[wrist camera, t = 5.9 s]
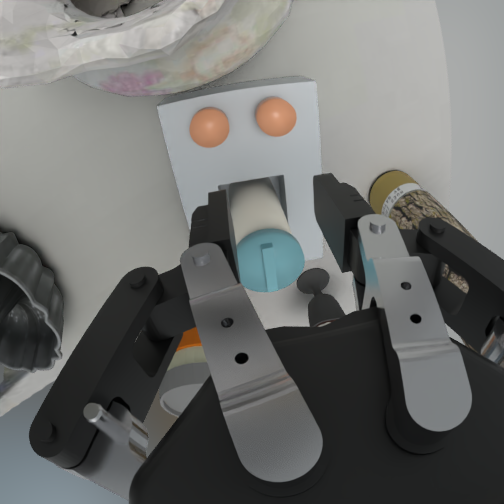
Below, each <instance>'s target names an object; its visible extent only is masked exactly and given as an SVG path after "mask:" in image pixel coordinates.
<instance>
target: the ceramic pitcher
mask: <svg viewBox="0 0 504 504" xmlns="http://www.w3.org/2000/svg"><path fill="white" fill-rule="evenodd" d="M166 1H167V2H166ZM129 2H130V0H0V88H11V87H19V86H28V85H38V84H49V83H52V82H55V81H57V80H60V79H63V78H66V77H69V76H72V77H74V78H76V79H77V80H79V81H81V82H83V83H84V84H86V85H88V86H90V87H93V88H96V89H100V90H104V91H107V92H111V93H115V94H119V95H123V96H128V97H129V96H148V95H163V94H173V93H177V92H181V91H185V90H190V89H193V88H195V87H198V86H201V85H203V84H206V83H209V82H212V81H214V80H216V79H218V78H220V77H222V76H224V75H226V74H228V73H230V72H232V71H234V70H235V69H237V68H238V67H240V66H241V65H242V64H244V63H245V62H247V61H248V60H249V59H251V58H252V57H253V56H254V55H255V54H256V53H257V52H258V51H260V50H261V49H262V48H263V47H264V46H265V45H266V44H267V42H268V41H269V40H270V39H271V38H272V36H273V35H274V34H275V33H276V31H277V30H278V29H279V27H280V26H281V25H282V24H283V22H284V21H285V20H286V19H287V17H288V16H289V14H290V10H291V6H292V2H293V0H164V1H161V2H159V3H158V4H156V5H159V4H160V6H157V7H153V6H155V5H153V6H151V7H149V8H147V9H145V10H143V11H140V12H138V13H136V14H134V15H130V16H127V17H125V16H124V14H123V12H122V10H121V8H120V5H125V4H127V3H128V4H129ZM164 2H165V3H164ZM152 7H153V8H152ZM157 10H159V11H157ZM154 11H157V12H155V13H153V12H154Z"/></svg>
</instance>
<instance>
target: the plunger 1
mask: <svg viewBox="0 0 504 504" xmlns="http://www.w3.org/2000/svg"><path fill="white" fill-rule="evenodd" d="M189 131H190V135H191V138H192V139H193V141H194V142H195V143H196V144H198V145H200V146H202V147H206V148H212V147H216V146H218V145H220V144H222V143H223V142H224V141H225V140H226V138H227V137H228V134H229V122H228V118H227V116H226V114H225V113H224V112H223V111H222V110H220V109H218V108H215V107H205V108H202V109H200V110H199V111H197V112H196V113H195V114H194V116H193V118H192V120H191V123H190V128H189Z"/></svg>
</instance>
